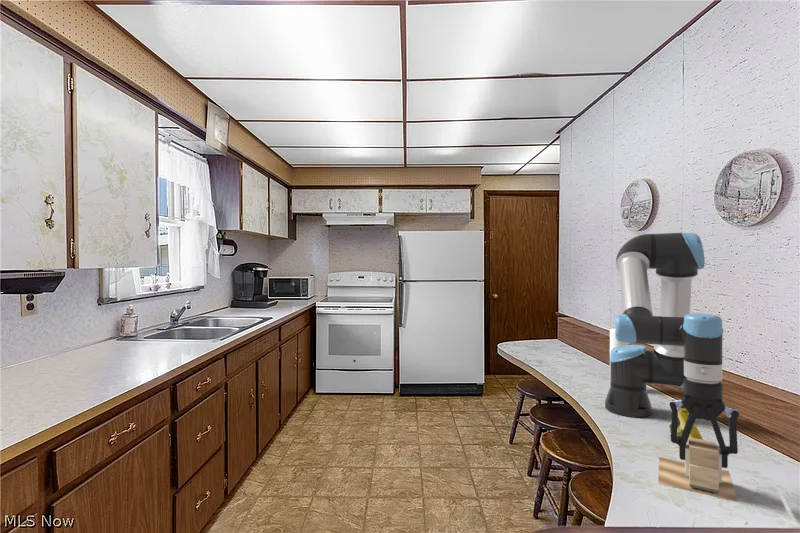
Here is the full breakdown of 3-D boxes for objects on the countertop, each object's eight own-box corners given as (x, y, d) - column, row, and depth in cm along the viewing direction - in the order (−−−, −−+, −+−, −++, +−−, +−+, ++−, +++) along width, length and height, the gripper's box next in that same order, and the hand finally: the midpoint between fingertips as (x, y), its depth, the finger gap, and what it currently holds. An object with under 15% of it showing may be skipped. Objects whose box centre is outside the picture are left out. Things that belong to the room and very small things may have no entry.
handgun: (676, 426, 134) (685, 400, 128) (701, 484, 119) (712, 457, 112) (667, 426, 135) (675, 400, 129) (691, 483, 119) (702, 457, 113)
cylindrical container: (631, 389, 181) (631, 330, 180) (623, 392, 176) (623, 331, 176) (615, 385, 186) (614, 328, 186) (606, 388, 182) (606, 329, 182)
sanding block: (688, 472, 107) (688, 436, 106) (715, 477, 104) (715, 440, 104) (689, 486, 100) (689, 448, 100) (719, 493, 97) (719, 453, 97)
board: (658, 462, 116) (658, 456, 116) (728, 476, 108) (728, 470, 108) (658, 489, 102) (658, 483, 102) (737, 508, 94) (737, 501, 94)
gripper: (657, 378, 103) (657, 473, 103) (755, 389, 93) (755, 494, 94) (657, 371, 110) (657, 461, 110) (750, 381, 100) (749, 479, 100)
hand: (702, 476), depth 102 cm, fingers closed on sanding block, 5 cm apart
